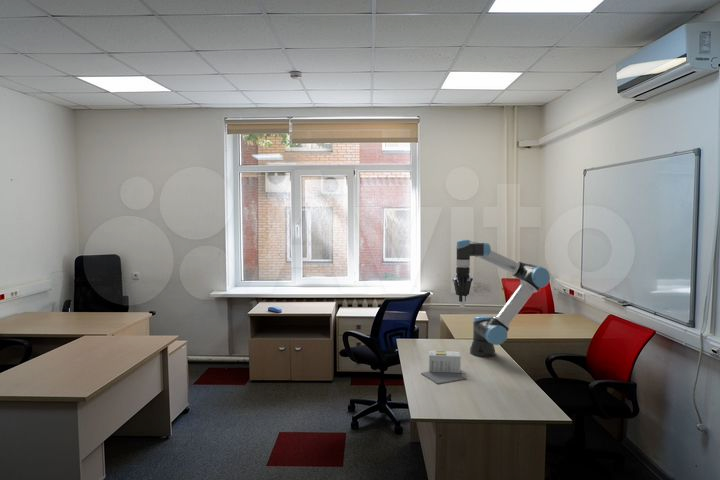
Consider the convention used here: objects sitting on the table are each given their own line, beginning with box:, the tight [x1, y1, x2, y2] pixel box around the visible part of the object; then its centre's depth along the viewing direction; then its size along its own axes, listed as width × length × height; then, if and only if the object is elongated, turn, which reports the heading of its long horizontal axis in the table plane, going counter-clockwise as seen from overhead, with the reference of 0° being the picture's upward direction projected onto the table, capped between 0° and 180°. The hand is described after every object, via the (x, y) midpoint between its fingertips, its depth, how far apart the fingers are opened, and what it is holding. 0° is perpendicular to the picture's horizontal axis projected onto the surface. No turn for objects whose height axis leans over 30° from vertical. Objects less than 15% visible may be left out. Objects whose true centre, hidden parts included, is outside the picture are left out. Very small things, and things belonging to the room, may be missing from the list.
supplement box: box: [428, 350, 462, 374], centre depth 258 cm, size 10×9×17 cm
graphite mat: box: [420, 371, 467, 385], centre depth 250 cm, size 18×16×1 cm
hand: (462, 307), depth 271 cm, fingers closed
